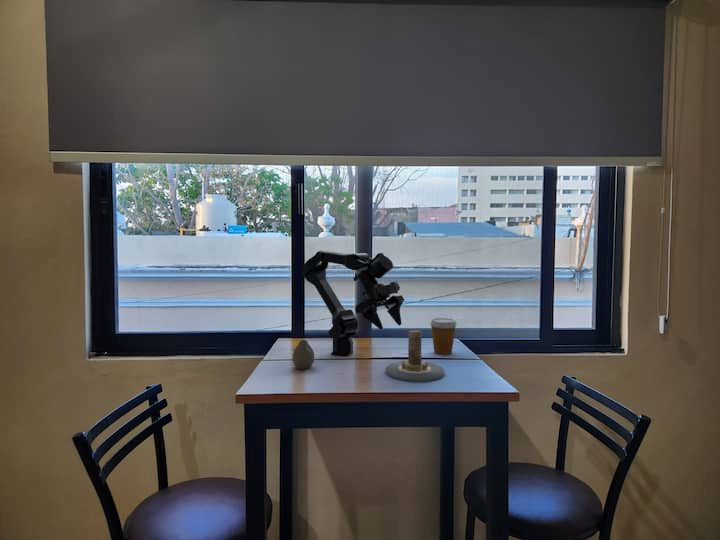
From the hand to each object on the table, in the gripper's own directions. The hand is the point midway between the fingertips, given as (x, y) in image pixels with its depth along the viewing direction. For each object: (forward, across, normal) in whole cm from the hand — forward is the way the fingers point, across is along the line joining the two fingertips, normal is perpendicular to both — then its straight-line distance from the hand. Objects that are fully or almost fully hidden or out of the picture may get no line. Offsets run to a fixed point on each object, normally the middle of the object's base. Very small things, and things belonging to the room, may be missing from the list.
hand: (391, 326), depth 149 cm
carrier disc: (+16, 0, -1) cm, 16 cm away
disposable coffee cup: (+12, +27, +6) cm, 30 cm away
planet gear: (+15, 0, -1) cm, 15 cm away
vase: (0, -21, +23) cm, 31 cm away
